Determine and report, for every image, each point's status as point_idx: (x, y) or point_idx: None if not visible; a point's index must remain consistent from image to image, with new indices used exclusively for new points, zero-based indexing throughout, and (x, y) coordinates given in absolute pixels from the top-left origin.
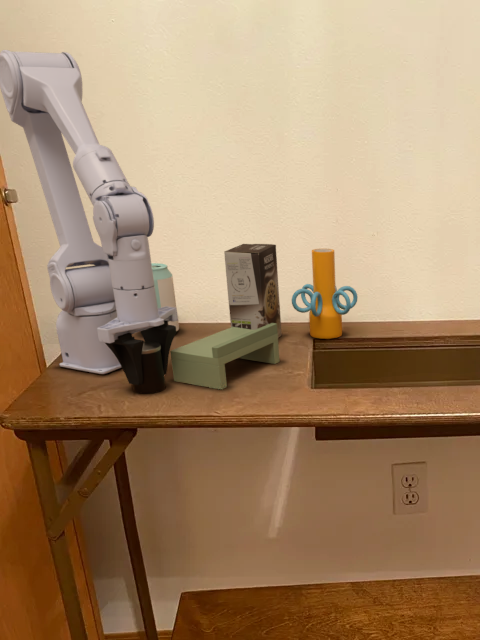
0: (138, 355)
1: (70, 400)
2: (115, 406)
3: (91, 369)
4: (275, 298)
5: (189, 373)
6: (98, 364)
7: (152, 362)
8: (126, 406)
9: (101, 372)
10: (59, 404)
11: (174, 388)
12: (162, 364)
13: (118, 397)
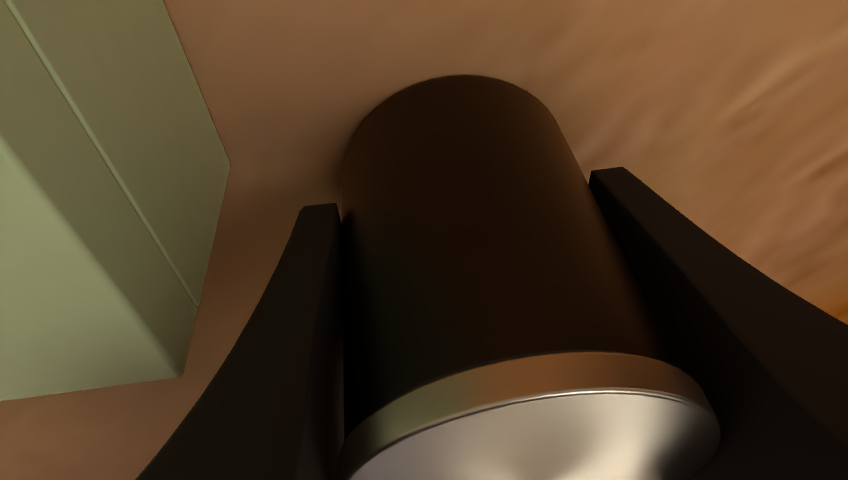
0: (815, 356)
1: None
2: (838, 93)
3: None
4: None
5: (136, 51)
6: None
7: (573, 260)
8: (839, 33)
9: None
10: (808, 297)
11: (342, 42)
12: (391, 242)
13: (665, 194)
